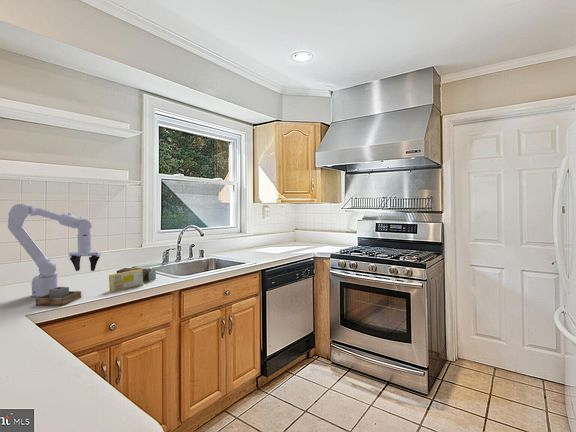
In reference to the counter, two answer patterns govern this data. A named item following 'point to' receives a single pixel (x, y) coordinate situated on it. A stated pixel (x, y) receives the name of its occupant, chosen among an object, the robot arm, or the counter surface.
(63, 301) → the walnut crate
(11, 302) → the counter surface
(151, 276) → the beverage carton
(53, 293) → the slate crate
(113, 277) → the candy box
